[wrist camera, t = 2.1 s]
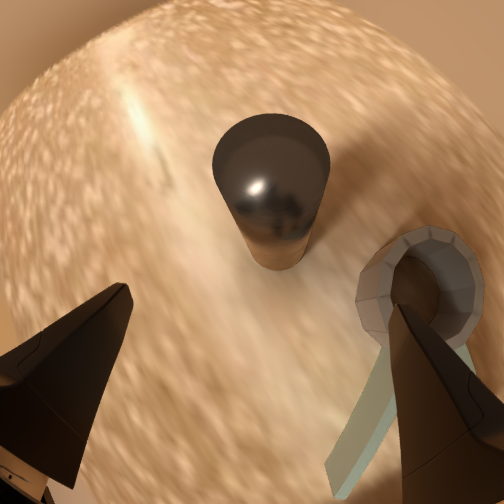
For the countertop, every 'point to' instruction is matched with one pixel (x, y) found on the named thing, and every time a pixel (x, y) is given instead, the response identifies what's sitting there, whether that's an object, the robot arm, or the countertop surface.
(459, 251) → the grey forked piece
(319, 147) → the hinge pin
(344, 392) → the countertop surface
